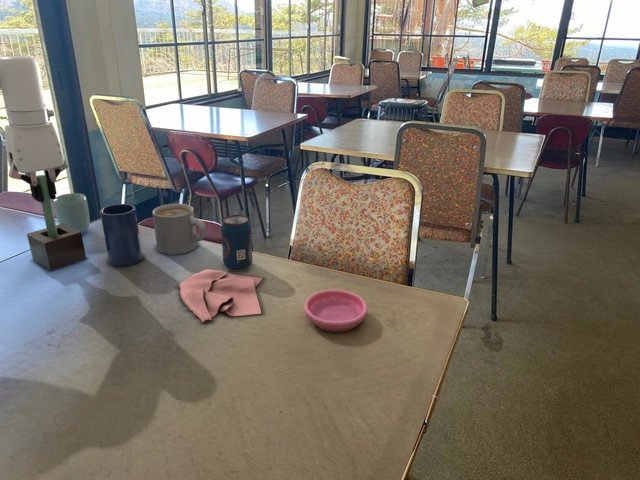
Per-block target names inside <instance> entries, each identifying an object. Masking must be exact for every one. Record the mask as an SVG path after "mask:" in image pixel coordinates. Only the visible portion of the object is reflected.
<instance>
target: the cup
mask: <svg viewBox="0 0 640 480" xmlns="http://www.w3.org/2000/svg"><path fill="white" fill-rule="evenodd" d="M52 203H53V208H54V212H55V216H56V220H57V225H59V224H65V225H68V226H70V227H72V228H74V229H76V230H78V231H80V232H81V233H82V234H84V233H86V232H87V231H88V230H89V229H90V225H91V217H90V209H89V203H88V199H87V196H86V195H85V194H84V193H77V192H76V193H75V192H74V193H65V194H64V193H63V194H60V195H57V196H56V199H54V200H53V199H52Z"/></svg>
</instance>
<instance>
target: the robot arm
mask: <svg viewBox="0 0 640 480" xmlns="http://www.w3.org/2000/svg"><path fill="white" fill-rule="evenodd" d="M0 91H1V93H2V97H3V103H4V107H5V108H4V109H5V111H6V116H7V120H8V124H7V125H5V126H4V141H5V149H6V159H7V163H8V166H9V172H8V177H9V178H11V179H14V180H20V181H21V180H22V181H23V182H24V183H27V184H28V185H29V188H30V193H31V198H32V199H34V200H35V201H36V202H39V203H40V204H41V203H42V202H44V198H43V193H42V188H41V186H40V185H38V182H37V177H36V176H37V172H41V171H43V175H45V176H46V179H47V184H48V189H49V194H50V199H51V200H52V201H53V200H54V199H56V197H57V196H56V195H57V194H58V193H57V187H56V182H57V178H58V177H59V175H60V174H61V173H62V172H63V171H65V170H67V169H68V168H69V165H68V164H67V162H66V160H65V159H64V154H63V153H64V152H63V149H62V146H61V142H60V139H59V136H58V133H57V131H56V128H55V126H54V123H53V122H52V121H51V117H54V116H55V111H54V110H53V109H49V108H47V102H46V98H45V92H44V87H43V81H42V77H41V71H40V67H39V63H38V61H37V60H36V59H35V58H33V57H31V56H25V55H5V56H2V55H0Z"/></svg>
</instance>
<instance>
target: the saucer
mask: <svg viewBox="0 0 640 480" xmlns="http://www.w3.org/2000/svg"><path fill="white" fill-rule="evenodd" d="M303 310H304V311H303V312H304V313H305V316H306V317H307V318H308V320H309V321H310V322H312V323H313V324H314V325H315V326H317V327H318V328H320V329H322V330H324V331H328V332H335V333H336V332H337V333H338V332H339V333H340V332H345V331H346V332H347V331H349V330H352V329H354V328H355V327H356V326H358V325H359V324H361V322H362V321H363V320H365V319H366V317H367V316H368V312H369V307H368V304H367V302H366V300H365V299H364V298H363V297H361V296H360V295H358V294H357V293H354V292H352V291H350V290H349V291H348V290H344V289H326V290H320V291H318V292H315V293H313V294H311V295H309V297H308V298H306V300H305V301H304V305H303Z"/></svg>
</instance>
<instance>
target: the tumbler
mask: <svg viewBox="0 0 640 480" xmlns="http://www.w3.org/2000/svg"><path fill="white" fill-rule="evenodd" d="M99 214H100V220H101V227H102V231H103V236H104V242H105V249H106V255H107V259H108V263H109V264H110V265H111V266H113V267H127V266H132V265H135V264H137V263H140V262H141V261H142V259H143V251H142V243H141V237H140V230H139V223H138V216H137V209H136V206H135V205H133V204H130V203H115V204H110V205H107V206H104V207H102V208H101V209H100V210H99Z"/></svg>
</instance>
